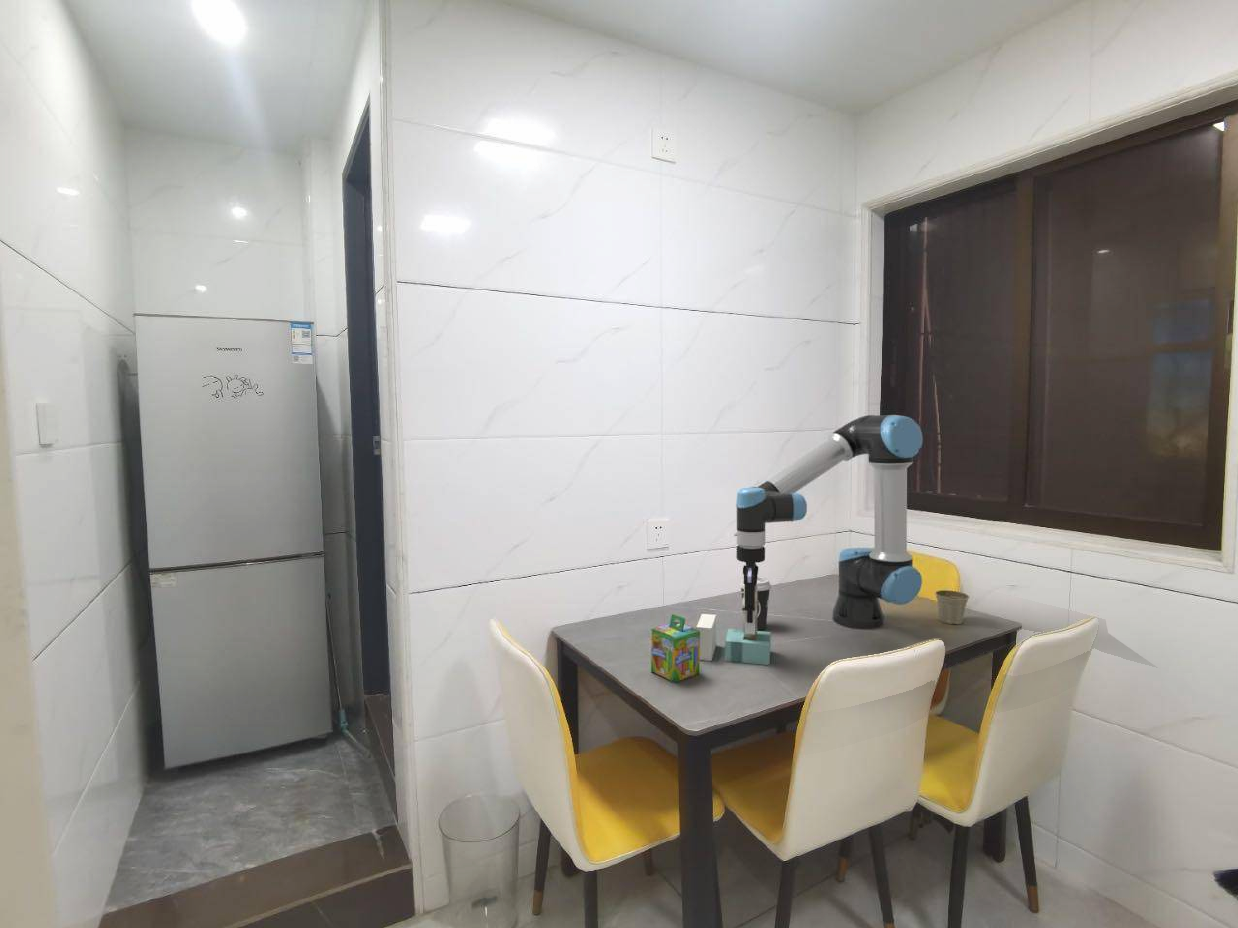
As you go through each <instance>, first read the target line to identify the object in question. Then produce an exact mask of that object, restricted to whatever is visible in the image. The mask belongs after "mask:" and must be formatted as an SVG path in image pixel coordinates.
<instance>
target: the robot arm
mask: <svg viewBox="0 0 1238 928" xmlns="http://www.w3.org/2000/svg"><path fill="white" fill-rule="evenodd" d="M922 446H923V434H922V430H921V427H920V426H919V425H918V423H917V422H916V421H915V420H914V419H913V418H911V417H910V416H906V415H899V414H889V415H885V414H884V415H881V414H880V415H875V414H874V415H873V414H869V415H864V416H861V417H858V418H855V419H854V420H852V421H850V422H848V423H846V424H844V425H843V426H842V427H840V428H838V429H837V430H835V431H833V432H832V433H831V434H829V435H828V438H827V440H826V441H825V442H822V444H820V445H818V446H817V447H815V448H814V449H813V450H811V451H809V452H808V453H807V454H805V455H804V456H802V457H801V458H799V459H798V460H796V461H795V462H792V464H790V465H788V466H787V467H786V468H784V469H782V470H781V471H779V472H778V473H777V474H775V475H774V476H772V477H771V478H769V479H768V480H766V481H765V482H763V483H762V484H760V485H759V486H749V487H742V488H740V489H738V490H737V492H736V493H737V495H736V503H735V507H736V532H734V536H735V537H736V544H737V546H736V560H737V561H739V562H742V563H745V565H744V564H743V567H742V575H743V578H744V584H745V607H744V608H743V607H742V608H741V610H742V611H743V610H745V634H755V585H756V584H757V576H758V575H759V566H758V565H757V563H762V562H764V561H765V560H766V547H765V545H766V525H767V524H770V523H781V522H782V523H783V522H784V523H785V522H791V523H792V522H795V521H801V520H803V519H804V518H805V517H806V515H807V511H808V510H807V509H808V504H807V503H808V502H807V501H806V498H805V497H804V496H803V495H802V494H801V493H799V492H798V491H800V490H802V489H803V488H804V487H806V486H807V485H809V484H810V483H812V482H813V481H815V480H816V479H818V478H819V477H821V476H822V475H824V474H826V473H827V472H828V471H830V470H831V469H832V468H834V467H836V466H838V465H839V464H841V462H843V461H845V462H847V461H851V460H852V459H854V458H855V457H858V456H861V455H868V464H869V465H870V466H872V468H873V470H874V471H873V473H874V474H873V475H874V478H873V482H874V484H873V485H874V488H873V489H874V502H873V503H874V507H873V508H874V510H873V511H874V516H873V517H874V548H873V547H853V548H852V547H850V548H844V549H842V550H841V551H840V552H839V559H838V595H837V598H836V601H835V604H834V606H833V609H832V615H831V616H832V621H833V622H835V623H837V625H841V626H845V627H849V628H854V629H863V630H865V629H866V630H868V629H869V630H871V629H877V628H881V627H882V626H884V624H885V622H884V621H885V615H884V613H883V609H882V606H881V603H880V600H879V599H881V600H883V601H884V602H885V603H889V604H893V605H898V606H902V605H907V604H909V603H910V602H912V601H913V600H915V598H916V597H918V595H919V594H920V591H921V588H922V586H923V585H922V584H923V583H922V582H923V578H922V577H923V576H922V575H921V572H919V570H918V569H917V568H916V567H914V565H913V564H914V563H913V562H914V561H913V555H912V554H911V553H910V552H909V551H908V467H910V466H911V465H912V464H913V463H914V462H913V461H914V457H915V456H916V455H917V454H918V453H919V452H920V451H919V450H920V449H921V448H922ZM797 492H798V493H797ZM757 604H758V601H757Z"/></svg>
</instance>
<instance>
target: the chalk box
mask: <svg viewBox="0 0 1238 928" xmlns="http://www.w3.org/2000/svg"><path fill="white" fill-rule="evenodd" d="M669 621H670V622H669V623H667V624H663V625H660V626H657V627H654V628H651V657H650V659H651V661H650V665H651V667H650V672H652V673H654V674H657V675H658V676H660V677H662V678H664V679H666V680H669V681H670V682H673V683H674V684H676V683H678V682H681V681H683V680H686V679H688V678H691V677H693V676H696V675H699V674H700V665H701V664H700V661H701V660H700V631H699V630H697V629H696V627H692V626H690V625H687V624H685V622H686V618H685V617H683V616H681V615H677V614H674V613H673V614H671V617H670V620H669Z"/></svg>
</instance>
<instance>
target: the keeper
mask: <svg viewBox="0 0 1238 928" xmlns="http://www.w3.org/2000/svg"><path fill="white" fill-rule="evenodd" d="M771 633H772V632H771V631H763V630H762V631H757V641H755V640H744V629H736V628H728V629H727V633H726V636H725V641H724V643H725V645H724V646H725V647H724V649H725V651H724V653H725V655H724V661H725V662H733V663H741V664H742V663H743V664H751V665H753V664H755V665H765V666H770V661H771V659H770V658H771V641H772V640H771V637H772V636H771V635H772V634H771Z"/></svg>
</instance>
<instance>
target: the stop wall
mask: <svg viewBox="0 0 1238 928" xmlns="http://www.w3.org/2000/svg"><path fill="white" fill-rule="evenodd" d="M695 629H697V630H699V631H700V661H707V662H711V661H712V660H713V657H714V653H715V650H716V647H717V614H709V613H702V614H701V616H700V618H699V620H698V622H697V625H696V627H695Z"/></svg>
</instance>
